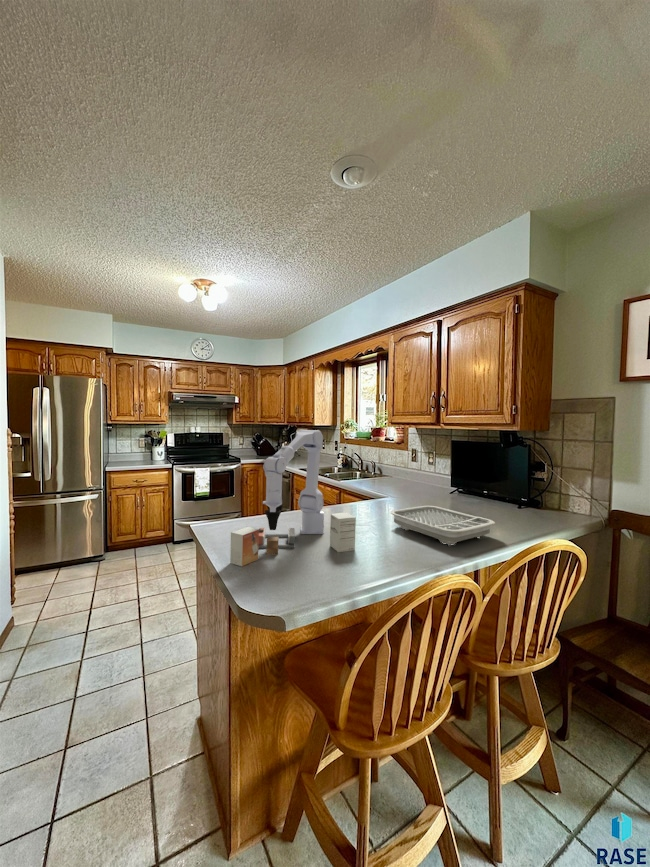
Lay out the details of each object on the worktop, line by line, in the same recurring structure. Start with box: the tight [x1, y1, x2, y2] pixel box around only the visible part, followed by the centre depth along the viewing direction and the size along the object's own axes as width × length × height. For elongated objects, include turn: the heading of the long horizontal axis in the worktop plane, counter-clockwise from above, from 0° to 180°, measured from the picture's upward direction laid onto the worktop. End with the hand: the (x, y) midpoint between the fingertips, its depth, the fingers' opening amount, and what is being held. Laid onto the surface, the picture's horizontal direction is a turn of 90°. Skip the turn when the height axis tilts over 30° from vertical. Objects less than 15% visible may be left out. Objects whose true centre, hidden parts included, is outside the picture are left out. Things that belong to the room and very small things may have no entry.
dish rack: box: [390, 505, 496, 545], centre depth 154 cm, size 32×37×8 cm
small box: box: [229, 526, 260, 567], centre depth 118 cm, size 8×6×10 cm
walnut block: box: [266, 537, 280, 556], centre depth 127 cm, size 4×4×5 cm
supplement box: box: [329, 512, 357, 553], centre depth 133 cm, size 7×7×13 cm
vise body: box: [259, 527, 296, 549], centre depth 137 cm, size 17×13×4 cm
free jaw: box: [258, 527, 266, 545], centre depth 137 cm, size 2×10×5 cm, turn 6°
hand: (273, 526), depth 129 cm, fingers open, 7 cm apart
